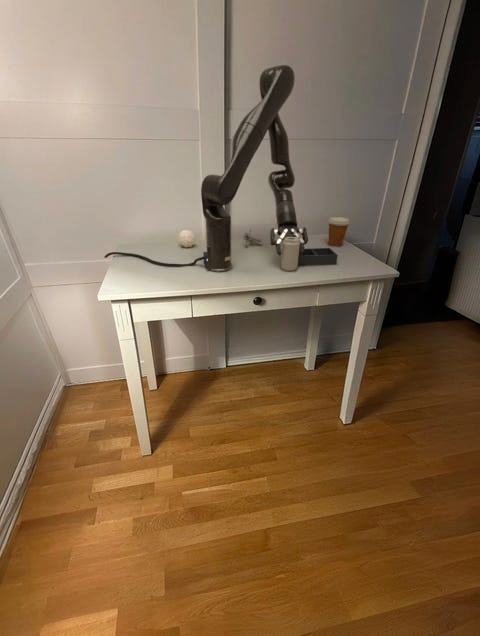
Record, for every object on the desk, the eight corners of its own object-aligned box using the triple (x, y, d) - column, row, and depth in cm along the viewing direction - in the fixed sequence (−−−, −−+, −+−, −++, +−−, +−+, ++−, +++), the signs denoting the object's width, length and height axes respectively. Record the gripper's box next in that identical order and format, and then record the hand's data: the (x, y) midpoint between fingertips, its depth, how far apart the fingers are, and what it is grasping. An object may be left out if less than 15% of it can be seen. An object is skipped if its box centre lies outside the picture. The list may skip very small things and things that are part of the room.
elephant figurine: (261, 249, 142) (243, 242, 140) (257, 255, 148) (239, 248, 146) (265, 231, 146) (247, 224, 144) (261, 237, 151) (243, 230, 149)
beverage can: (296, 266, 125) (299, 236, 118) (297, 272, 119) (300, 241, 113) (280, 265, 125) (283, 235, 119) (280, 271, 120) (283, 240, 114)
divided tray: (295, 266, 125) (297, 256, 123) (290, 258, 132) (291, 249, 130) (336, 264, 127) (337, 254, 125) (328, 257, 134) (329, 247, 132)
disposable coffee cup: (339, 248, 143) (344, 222, 137) (321, 244, 149) (324, 218, 143) (348, 244, 150) (353, 218, 143) (330, 240, 155) (334, 215, 149)
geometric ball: (186, 251, 147) (185, 234, 148) (199, 247, 143) (198, 230, 144) (174, 246, 141) (174, 229, 142) (188, 243, 137) (187, 225, 137)
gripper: (270, 210, 118) (274, 250, 114) (306, 210, 119) (312, 248, 115) (266, 221, 125) (270, 259, 121) (301, 220, 126) (306, 257, 123)
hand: (291, 254), depth 118 cm, fingers open, 8 cm apart
